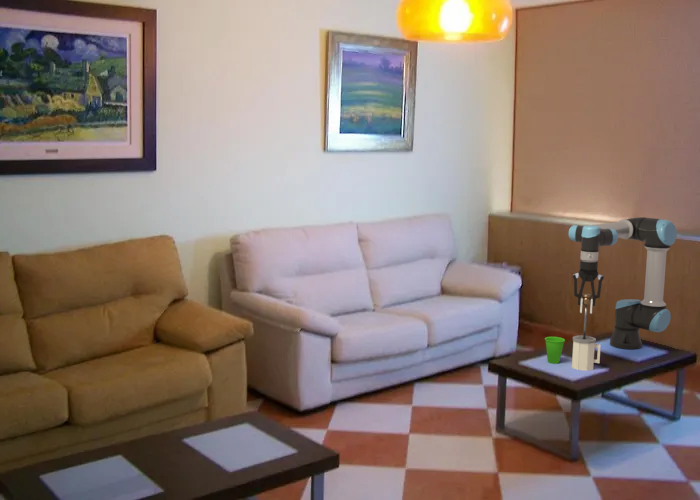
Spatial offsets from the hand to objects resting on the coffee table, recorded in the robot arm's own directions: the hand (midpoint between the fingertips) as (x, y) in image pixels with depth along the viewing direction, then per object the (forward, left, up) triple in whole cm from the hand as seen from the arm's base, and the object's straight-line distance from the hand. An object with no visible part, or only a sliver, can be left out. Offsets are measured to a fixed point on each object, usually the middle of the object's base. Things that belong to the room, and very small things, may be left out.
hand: (585, 312), depth 364 cm
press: (-1, +1, -25) cm, 25 cm away
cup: (+6, -12, -26) cm, 29 cm away
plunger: (0, 0, -14) cm, 14 cm away
